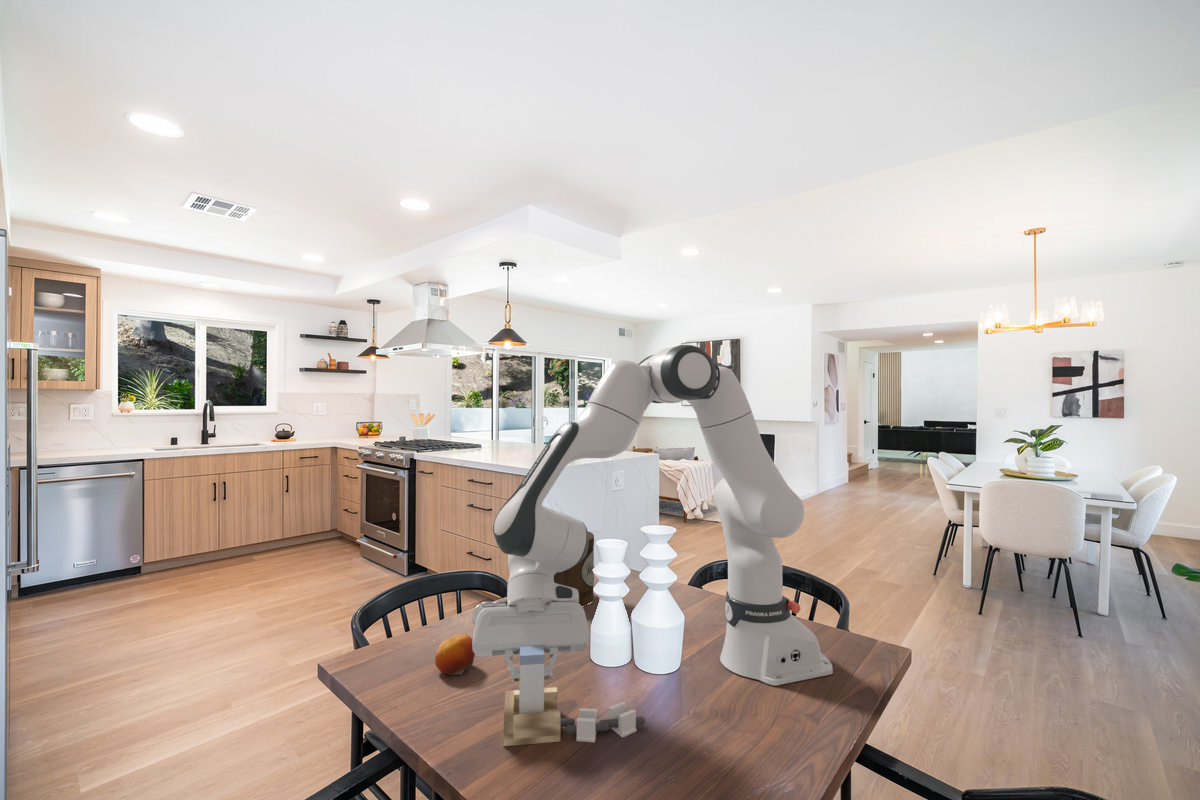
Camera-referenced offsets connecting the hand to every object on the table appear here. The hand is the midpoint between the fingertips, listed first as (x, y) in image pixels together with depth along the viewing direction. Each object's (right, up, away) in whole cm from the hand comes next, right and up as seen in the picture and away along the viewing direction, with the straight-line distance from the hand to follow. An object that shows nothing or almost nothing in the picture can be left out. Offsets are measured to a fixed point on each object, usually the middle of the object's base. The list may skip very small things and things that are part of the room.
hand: (531, 679), depth 89 cm
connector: (0, -5, +1) cm, 5 cm away
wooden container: (+2, -9, +60) cm, 60 cm away
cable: (+11, -8, 0) cm, 14 cm away
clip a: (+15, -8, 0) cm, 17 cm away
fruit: (-18, -9, +20) cm, 28 cm away
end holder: (0, -8, +1) cm, 8 cm away
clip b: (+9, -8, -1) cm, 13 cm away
